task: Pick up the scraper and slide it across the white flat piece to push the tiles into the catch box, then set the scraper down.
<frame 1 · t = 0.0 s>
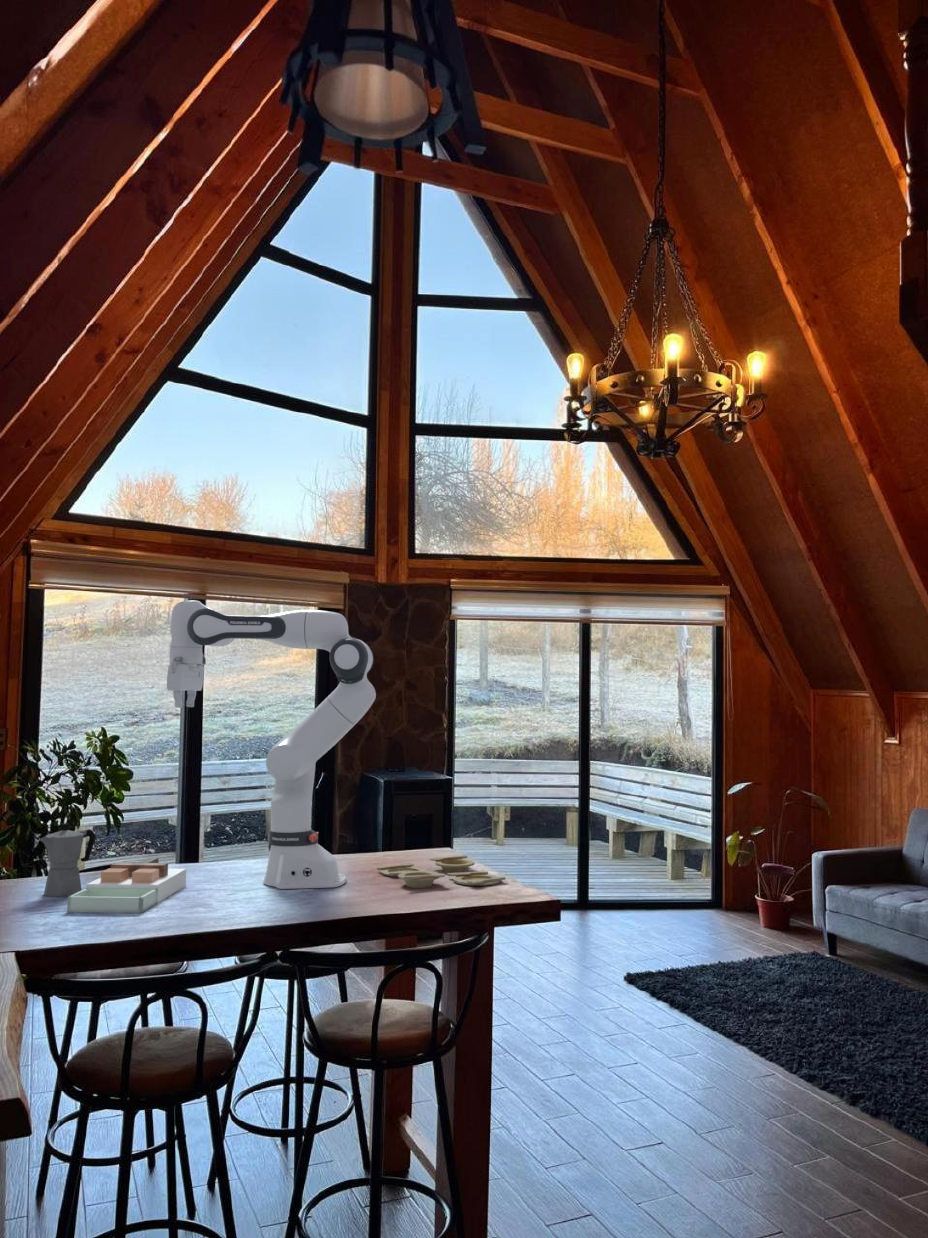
hand: (184, 707, 260), 48 cm above the table, fingers open, 8 cm apart
white flat piece: (137, 893, 240), on the table
catch box: (113, 907, 225), on the table
tableware set: (439, 879, 263), on the table
tile 2: (114, 880, 235), point 4 cm above the table, touching white flat piece
coffeepot: (66, 893, 242), on the table
scraper: (139, 875, 241), point 4 cm above the table, touching white flat piece
tile 1: (145, 880, 235), point 4 cm above the table, touching white flat piece
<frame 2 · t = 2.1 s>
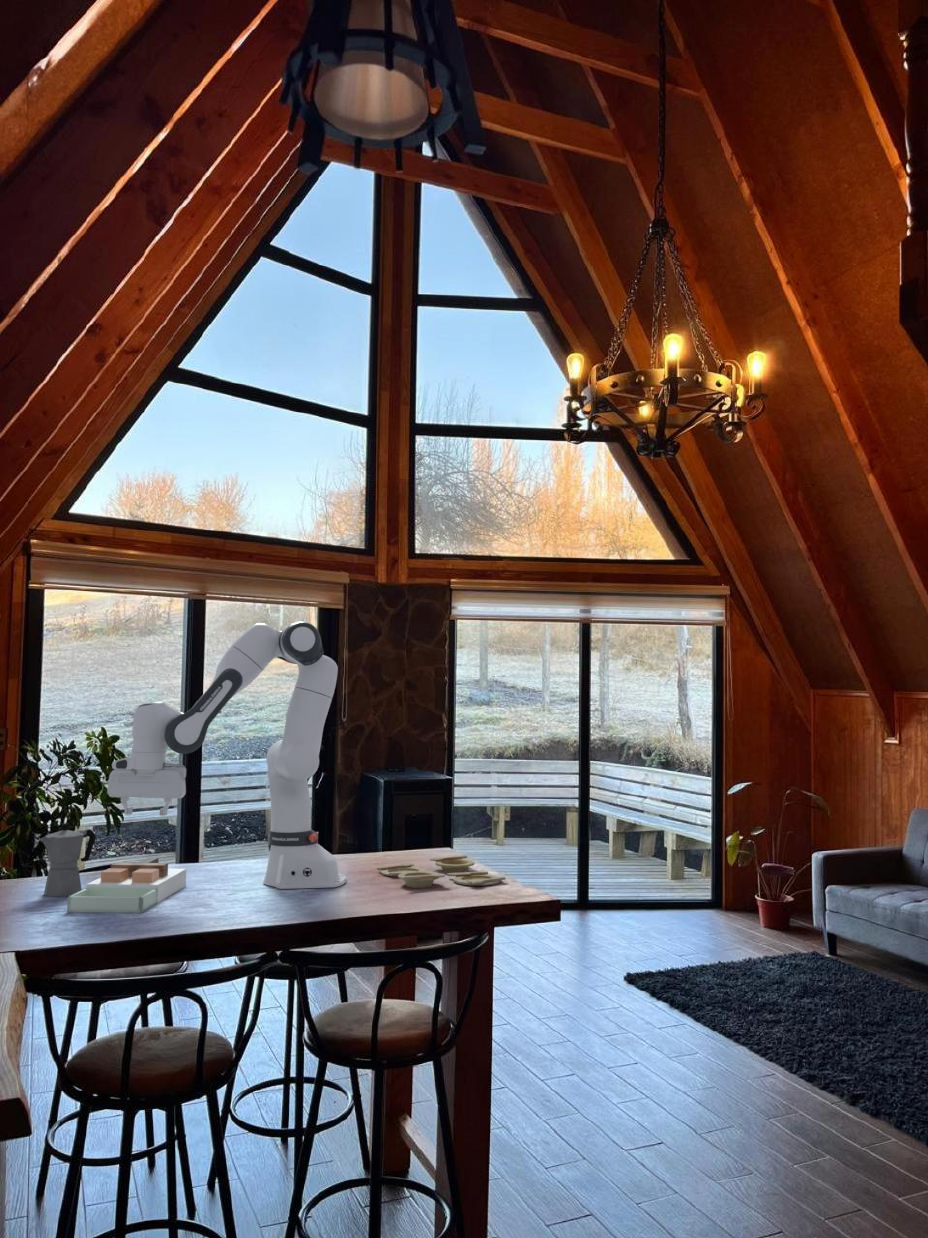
hand: (145, 815, 246), 20 cm above the table, fingers open, 8 cm apart
nothing on the table moved.
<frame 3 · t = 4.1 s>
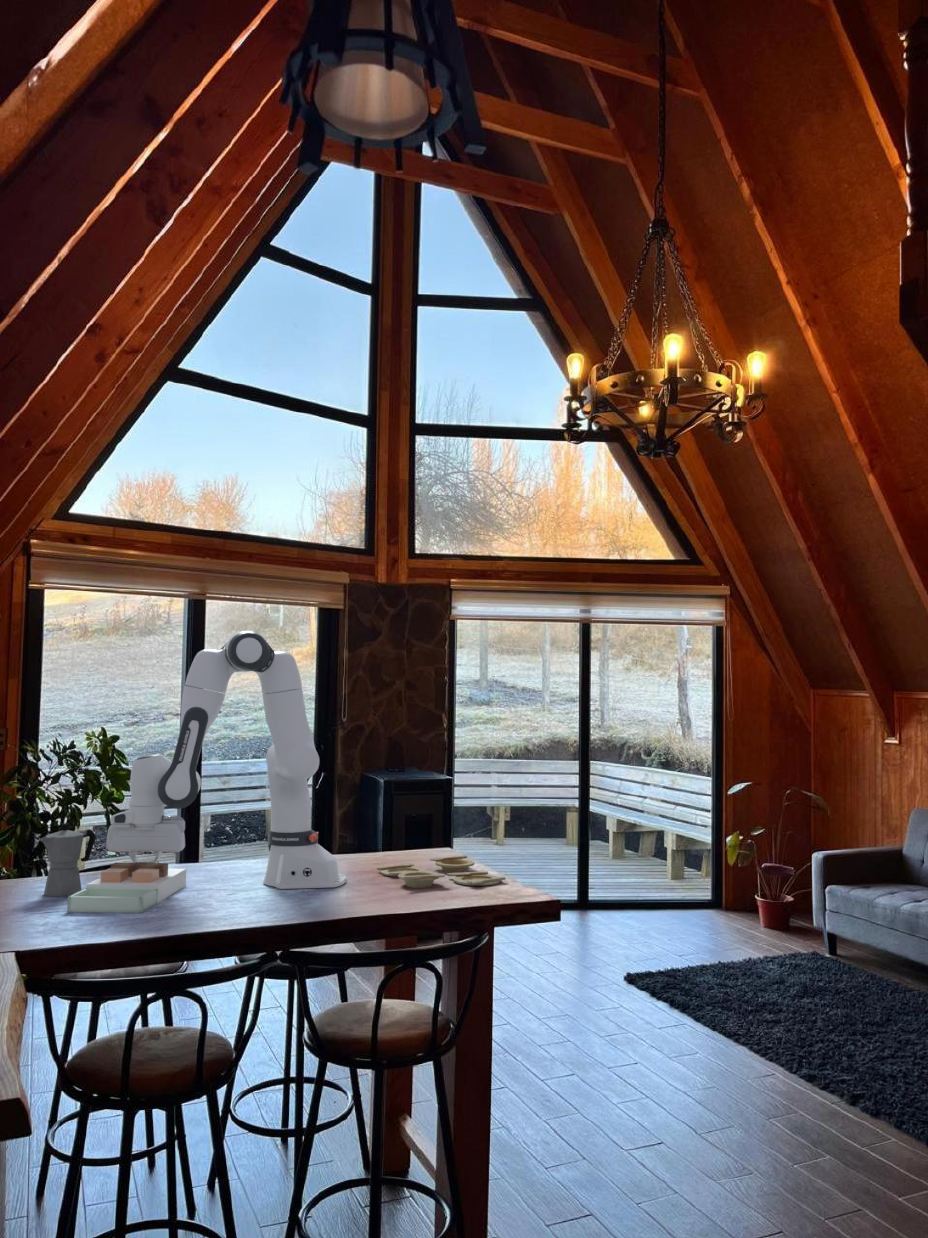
hand: (145, 868, 245), 6 cm above the table, fingers closed on scraper, 3 cm apart
scraper: (139, 875, 241), point 4 cm above the table, touching white flat piece, gripper
everything else where it was.
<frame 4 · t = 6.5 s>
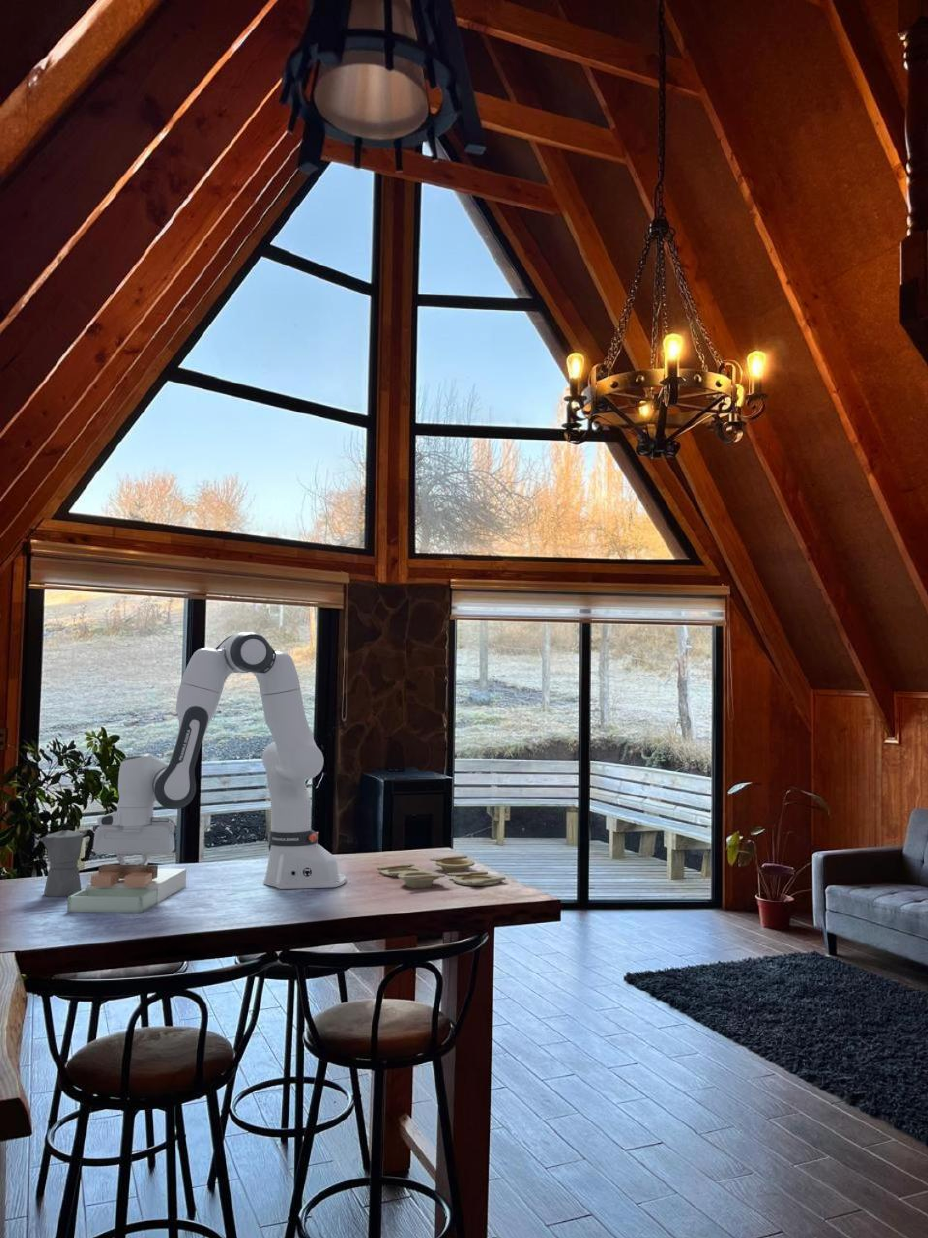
hand: (133, 872, 238), 6 cm above the table, fingers closed on scraper, 3 cm apart
tile 2: (105, 884, 230), point 5 cm above the table, touching white flat piece
scraper: (127, 878, 234), point 5 cm above the table, touching gripper
tile 1: (138, 884, 230), point 4 cm above the table, touching white flat piece
everything else where it was.
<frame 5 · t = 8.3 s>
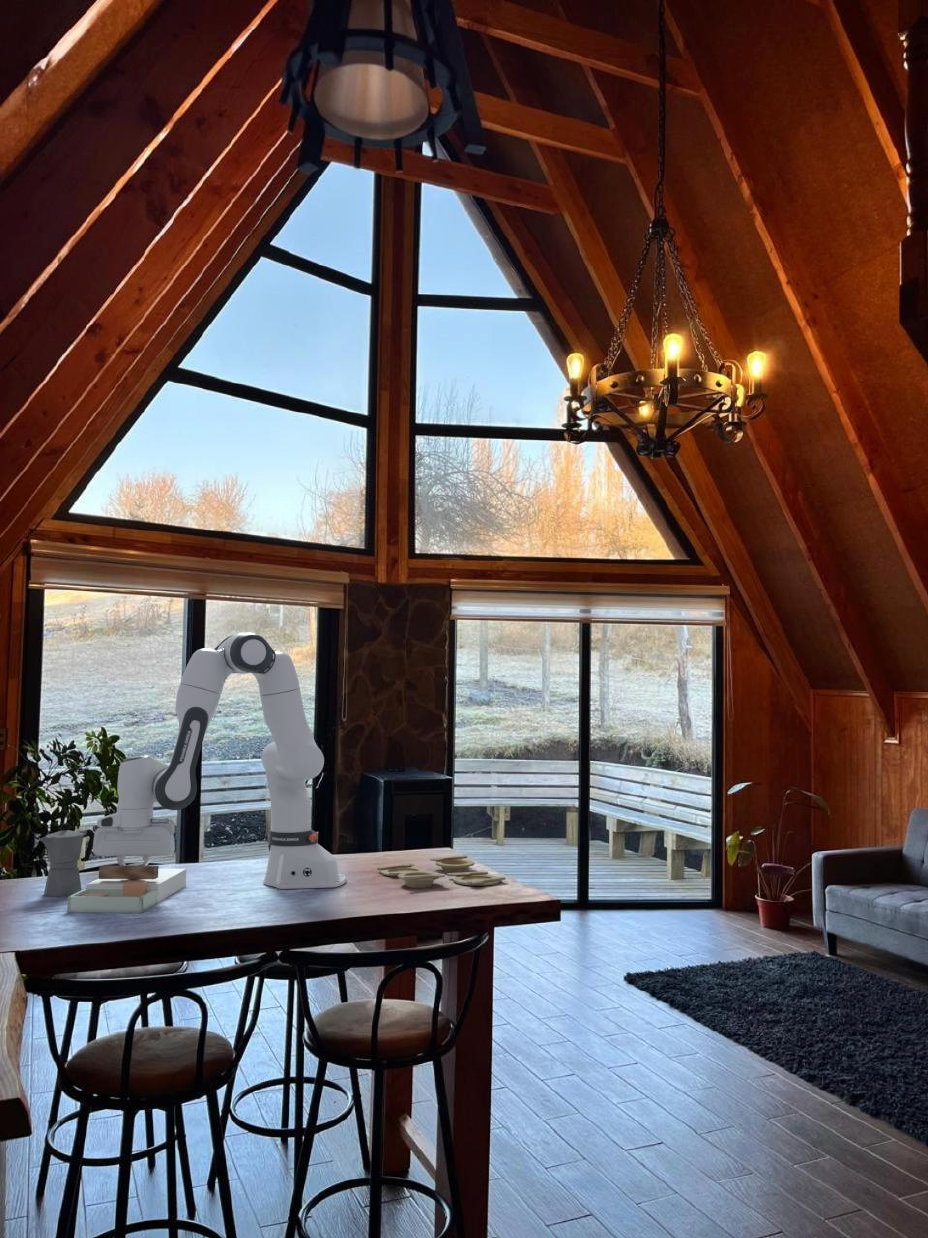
hand: (133, 873, 237), 6 cm above the table, fingers closed on scraper, 3 cm apart
tile 2: (94, 895, 224), point 3 cm above the table, tilted 180°, touching catch box
scraper: (128, 878, 234), point 5 cm above the table, touching gripper
tile 1: (136, 891, 229), point 3 cm above the table, tilted 90°, touching catch box
everything else where it was.
when the fingers open (6 cm above the table, at t = 9.7 s): scraper stays where it is, resting on white flat piece.
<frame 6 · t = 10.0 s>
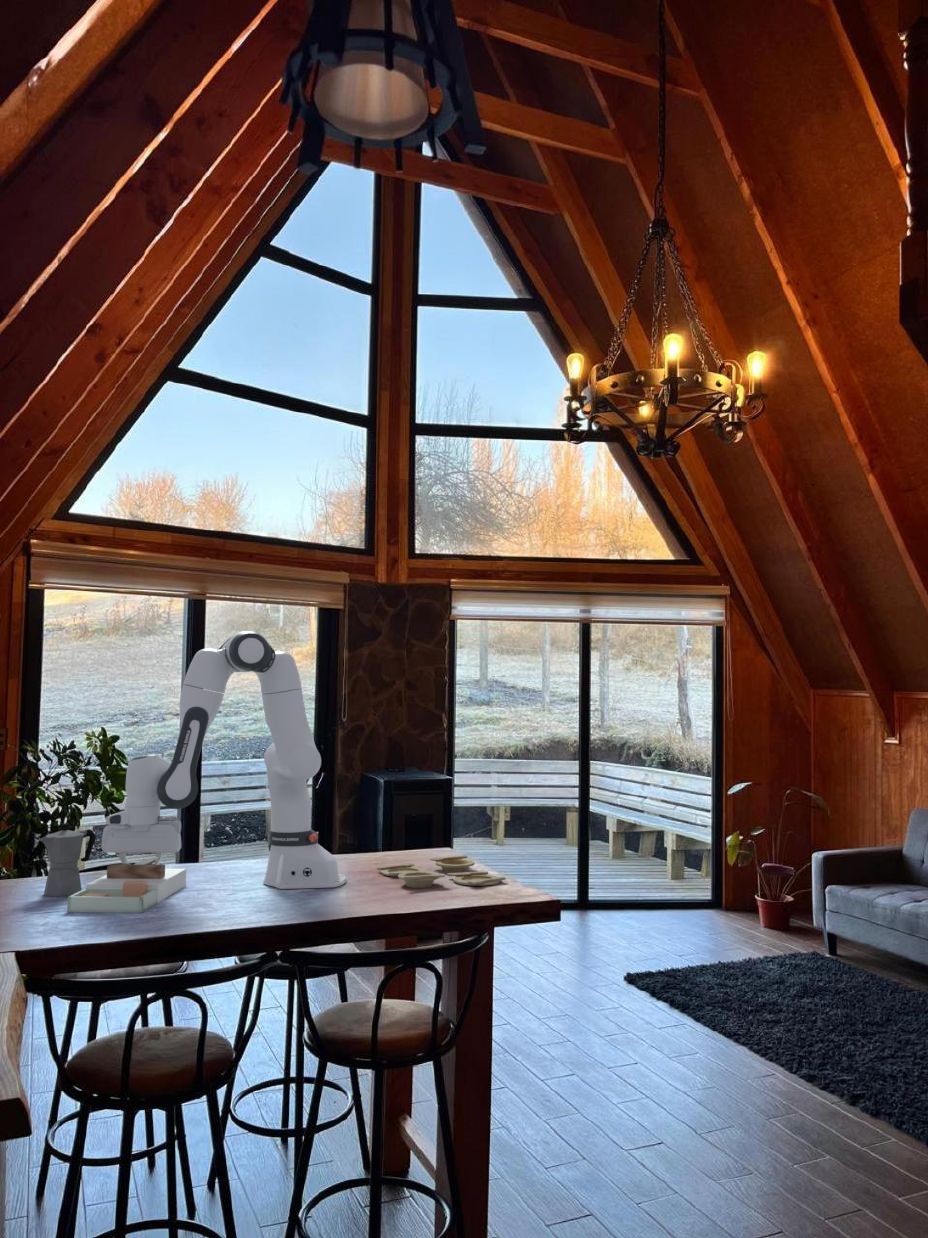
hand: (140, 870, 242), 6 cm above the table, fingers open, 6 cm apart
scraper: (135, 877, 239), point 4 cm above the table, touching white flat piece
everything else where it was.
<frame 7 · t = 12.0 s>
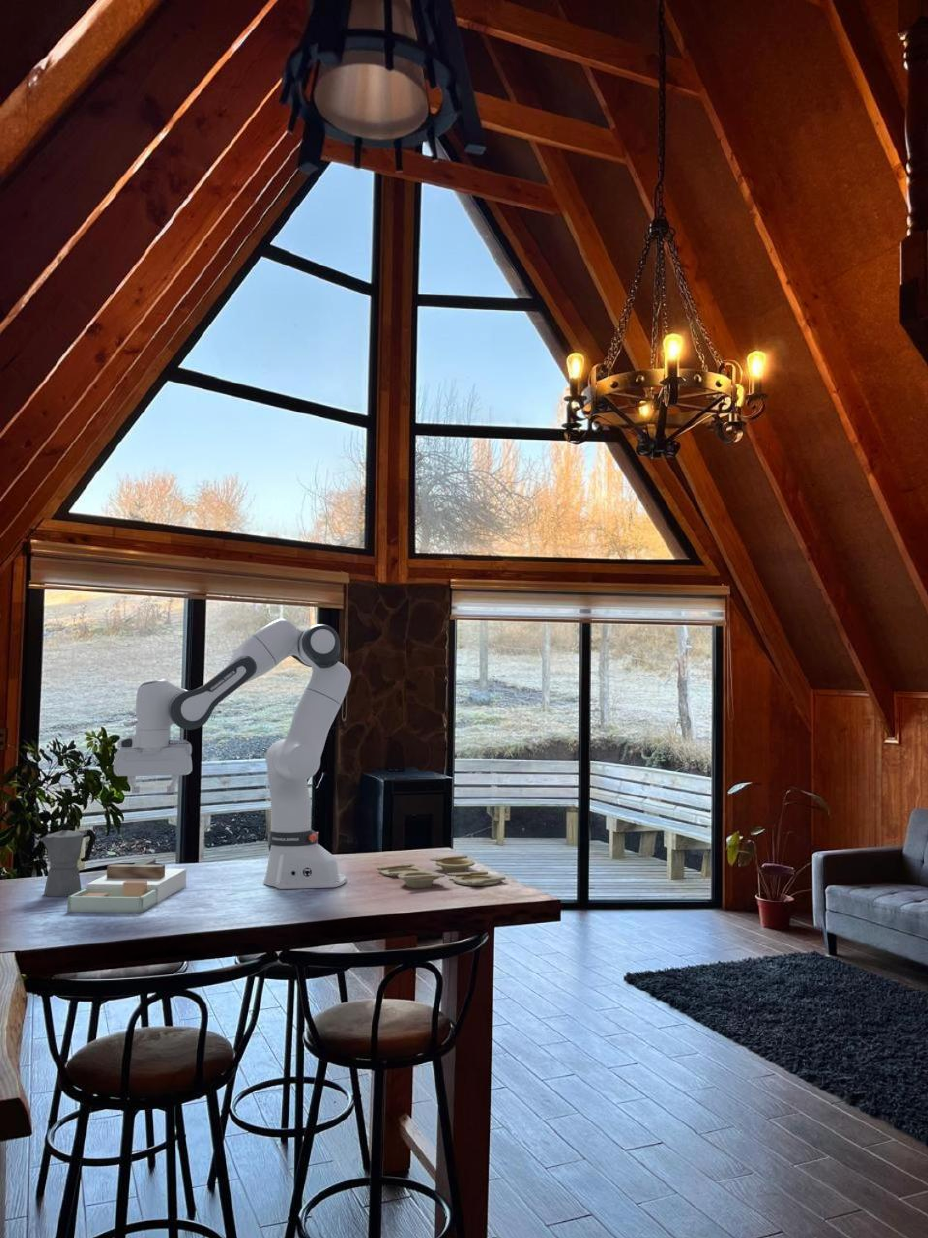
hand: (153, 792, 247), 25 cm above the table, fingers open, 8 cm apart
nothing on the table moved.
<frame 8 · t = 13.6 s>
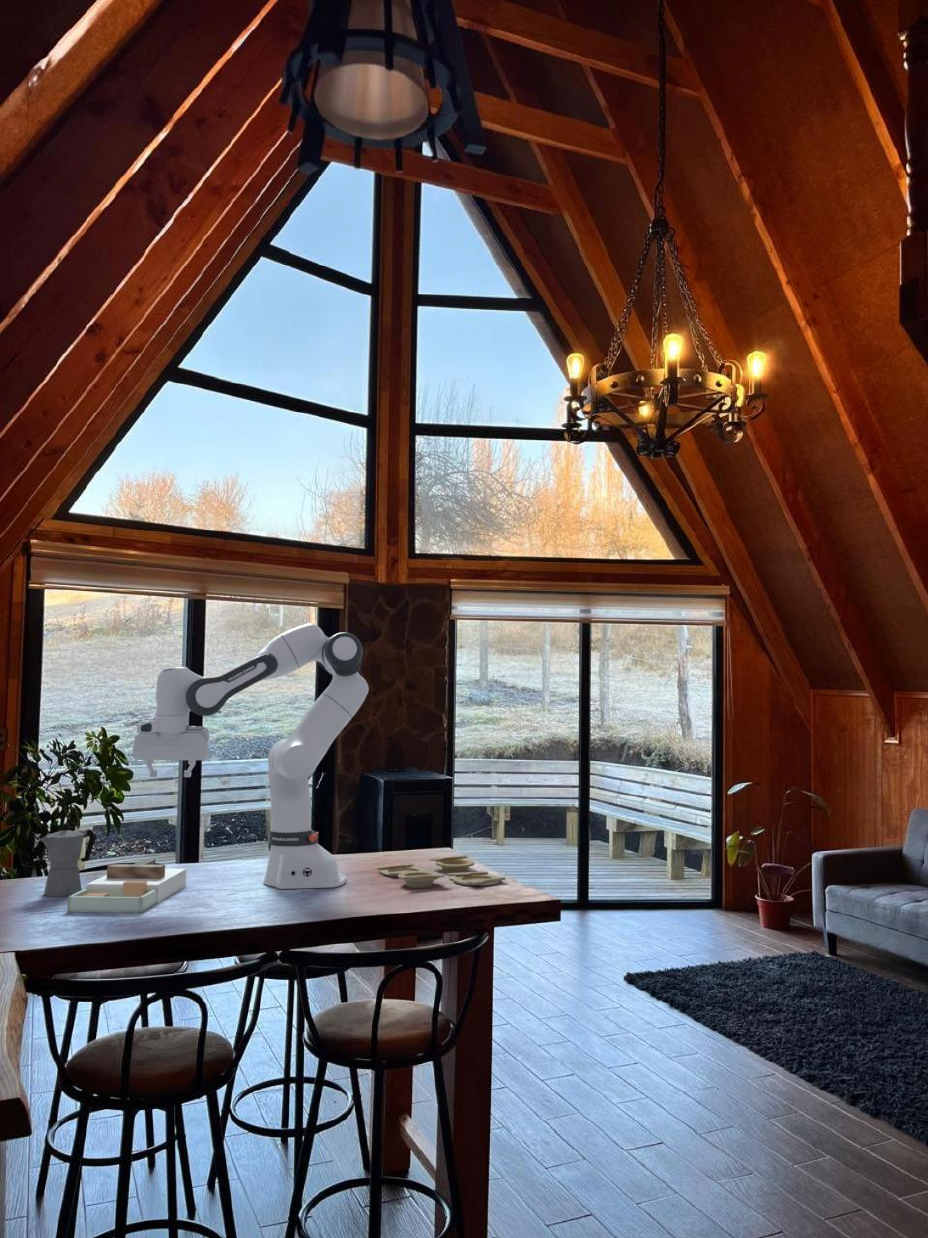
hand: (170, 777, 253), 29 cm above the table, fingers open, 8 cm apart
nothing on the table moved.
at the end: tile 1 inside the target area (6.1 cm from its centre), point 3.1 cm above the table; tile 2 inside the target area (4.4 cm from its centre), point 3.1 cm above the table; the gripper is holding nothing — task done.
